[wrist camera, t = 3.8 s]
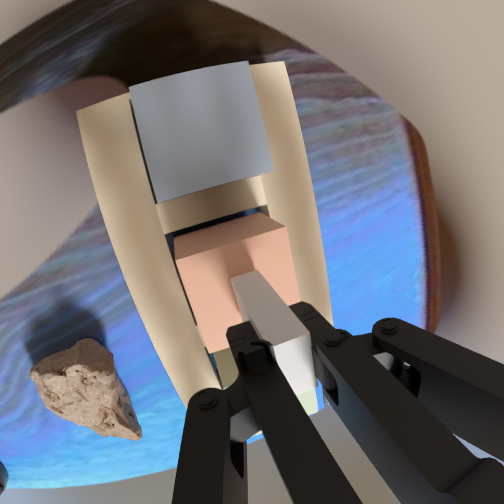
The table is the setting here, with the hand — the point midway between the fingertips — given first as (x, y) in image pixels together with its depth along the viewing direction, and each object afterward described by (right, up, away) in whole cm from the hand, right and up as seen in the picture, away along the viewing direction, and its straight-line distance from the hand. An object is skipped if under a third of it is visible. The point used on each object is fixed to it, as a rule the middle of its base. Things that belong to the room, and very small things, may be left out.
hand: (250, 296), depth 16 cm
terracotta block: (-2, +1, +5) cm, 5 cm away
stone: (-14, -9, +8) cm, 19 cm away
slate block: (-4, +10, +2) cm, 11 cm away
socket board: (-2, +2, +7) cm, 8 cm away
